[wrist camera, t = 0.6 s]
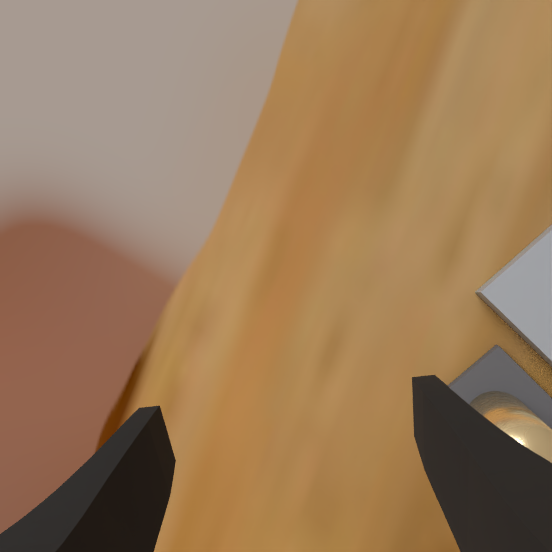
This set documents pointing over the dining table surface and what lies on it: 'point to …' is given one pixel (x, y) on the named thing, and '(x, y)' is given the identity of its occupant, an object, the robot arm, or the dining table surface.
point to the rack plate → (526, 294)
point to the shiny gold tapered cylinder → (515, 421)
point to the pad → (503, 383)
